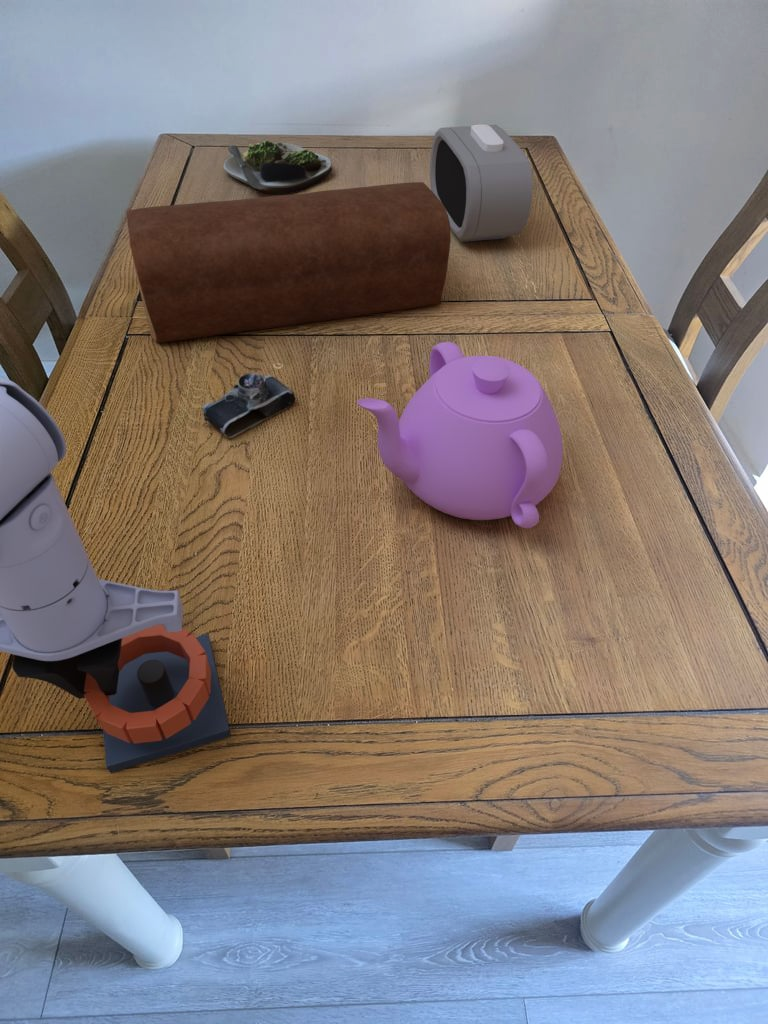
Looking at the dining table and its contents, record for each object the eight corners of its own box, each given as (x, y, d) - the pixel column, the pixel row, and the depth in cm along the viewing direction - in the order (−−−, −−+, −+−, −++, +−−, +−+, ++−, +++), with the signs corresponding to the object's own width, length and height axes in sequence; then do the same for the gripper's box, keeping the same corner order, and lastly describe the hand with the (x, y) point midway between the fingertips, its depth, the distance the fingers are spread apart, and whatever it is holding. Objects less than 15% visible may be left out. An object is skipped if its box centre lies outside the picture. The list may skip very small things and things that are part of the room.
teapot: (319, 441, 78) (313, 333, 67) (490, 395, 84) (509, 290, 74) (405, 592, 64) (414, 486, 54) (600, 523, 71) (642, 416, 61)
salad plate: (195, 169, 124) (190, 141, 120) (271, 142, 133) (269, 116, 130) (269, 205, 116) (266, 176, 112) (345, 174, 125) (345, 146, 121)
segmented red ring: (85, 749, 50) (75, 734, 48) (101, 645, 55) (93, 628, 54) (209, 735, 51) (204, 720, 49) (212, 634, 56) (207, 617, 55)
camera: (197, 420, 79) (191, 390, 76) (272, 383, 84) (269, 353, 81) (223, 443, 77) (218, 413, 74) (298, 404, 82) (296, 374, 79)
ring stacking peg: (110, 773, 52) (92, 744, 49) (100, 670, 58) (83, 638, 54) (231, 736, 55) (222, 706, 51) (210, 641, 60) (201, 607, 56)
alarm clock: (426, 197, 120) (433, 110, 110) (479, 193, 121) (490, 107, 111) (463, 256, 106) (474, 164, 96) (522, 251, 108) (539, 160, 98)
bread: (446, 310, 96) (457, 213, 86) (153, 351, 88) (128, 248, 78) (410, 255, 106) (417, 162, 96) (144, 287, 97) (120, 189, 87)
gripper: (168, 510, 45) (202, 628, 55) (-75, 529, 43) (6, 647, 53) (160, 601, 40) (198, 711, 50) (-112, 626, 39) (-16, 735, 49)
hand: (99, 684), depth 52 cm, fingers closed on segmented red ring, 1 cm apart
